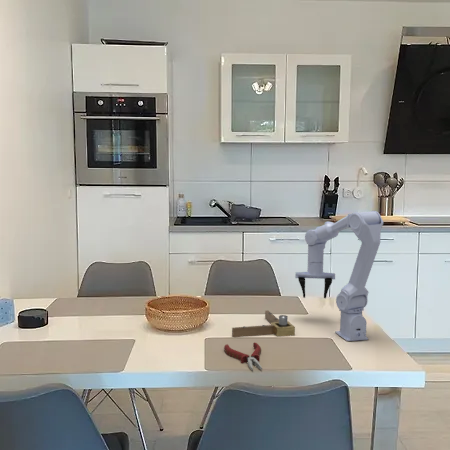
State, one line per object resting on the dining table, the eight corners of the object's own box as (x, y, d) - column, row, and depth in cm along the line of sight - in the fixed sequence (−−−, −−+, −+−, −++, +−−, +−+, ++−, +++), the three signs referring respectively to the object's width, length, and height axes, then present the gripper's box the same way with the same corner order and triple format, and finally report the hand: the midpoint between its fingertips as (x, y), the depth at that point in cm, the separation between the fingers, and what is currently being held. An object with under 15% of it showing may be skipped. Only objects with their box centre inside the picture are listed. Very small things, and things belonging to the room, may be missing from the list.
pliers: (238, 375, 154) (238, 366, 153) (222, 351, 173) (223, 343, 173) (276, 372, 156) (276, 363, 156) (257, 348, 176) (257, 341, 175)
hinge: (294, 335, 188) (294, 326, 187) (234, 339, 183) (234, 330, 182) (274, 317, 208) (274, 309, 208) (220, 321, 203) (220, 312, 203)
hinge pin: (288, 334, 189) (288, 317, 188) (279, 334, 188) (280, 317, 188) (285, 331, 192) (286, 314, 191) (277, 331, 191) (277, 315, 191)
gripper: (334, 260, 204) (333, 295, 205) (295, 259, 205) (294, 294, 207) (336, 263, 197) (334, 300, 198) (296, 262, 198) (295, 298, 200)
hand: (314, 297), depth 202 cm, fingers open, 7 cm apart
